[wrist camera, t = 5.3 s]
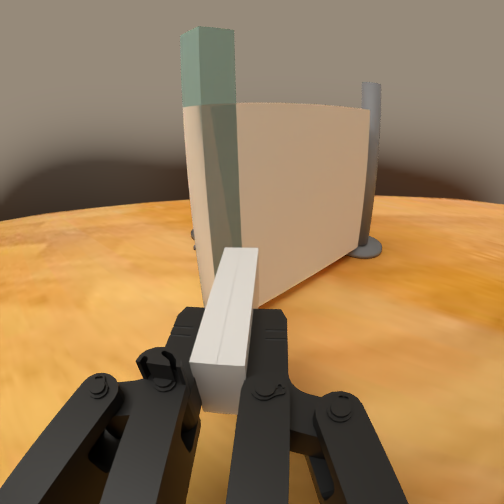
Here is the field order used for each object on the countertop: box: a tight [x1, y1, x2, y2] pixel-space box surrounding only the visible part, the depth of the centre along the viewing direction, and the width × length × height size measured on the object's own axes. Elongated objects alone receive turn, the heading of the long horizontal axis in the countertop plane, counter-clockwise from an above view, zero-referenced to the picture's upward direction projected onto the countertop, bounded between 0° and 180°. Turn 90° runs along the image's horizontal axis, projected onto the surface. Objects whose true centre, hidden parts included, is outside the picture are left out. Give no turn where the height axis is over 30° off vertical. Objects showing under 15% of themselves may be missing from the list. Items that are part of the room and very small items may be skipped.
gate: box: [180, 26, 381, 308], centre depth 20 cm, size 19×2×17 cm, turn 131°
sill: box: [194, 236, 382, 259], centre depth 30 cm, size 20×5×1 cm, turn 86°
